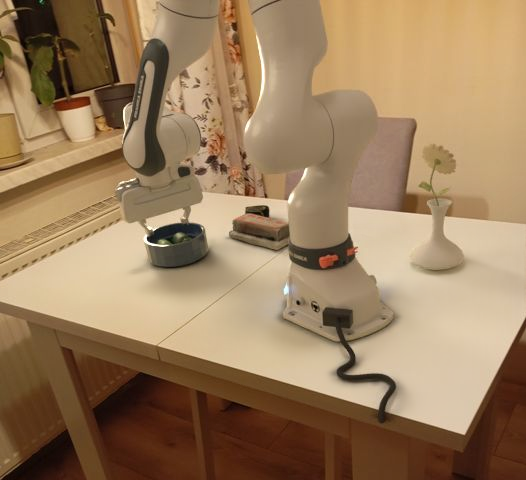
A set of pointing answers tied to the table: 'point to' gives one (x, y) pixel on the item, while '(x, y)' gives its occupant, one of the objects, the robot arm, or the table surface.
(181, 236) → the zucchini
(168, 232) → the bowl
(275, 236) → the packaged product
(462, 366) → the table surface
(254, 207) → the tape measure
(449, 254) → the flower in vase
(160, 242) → the pale zucchini
